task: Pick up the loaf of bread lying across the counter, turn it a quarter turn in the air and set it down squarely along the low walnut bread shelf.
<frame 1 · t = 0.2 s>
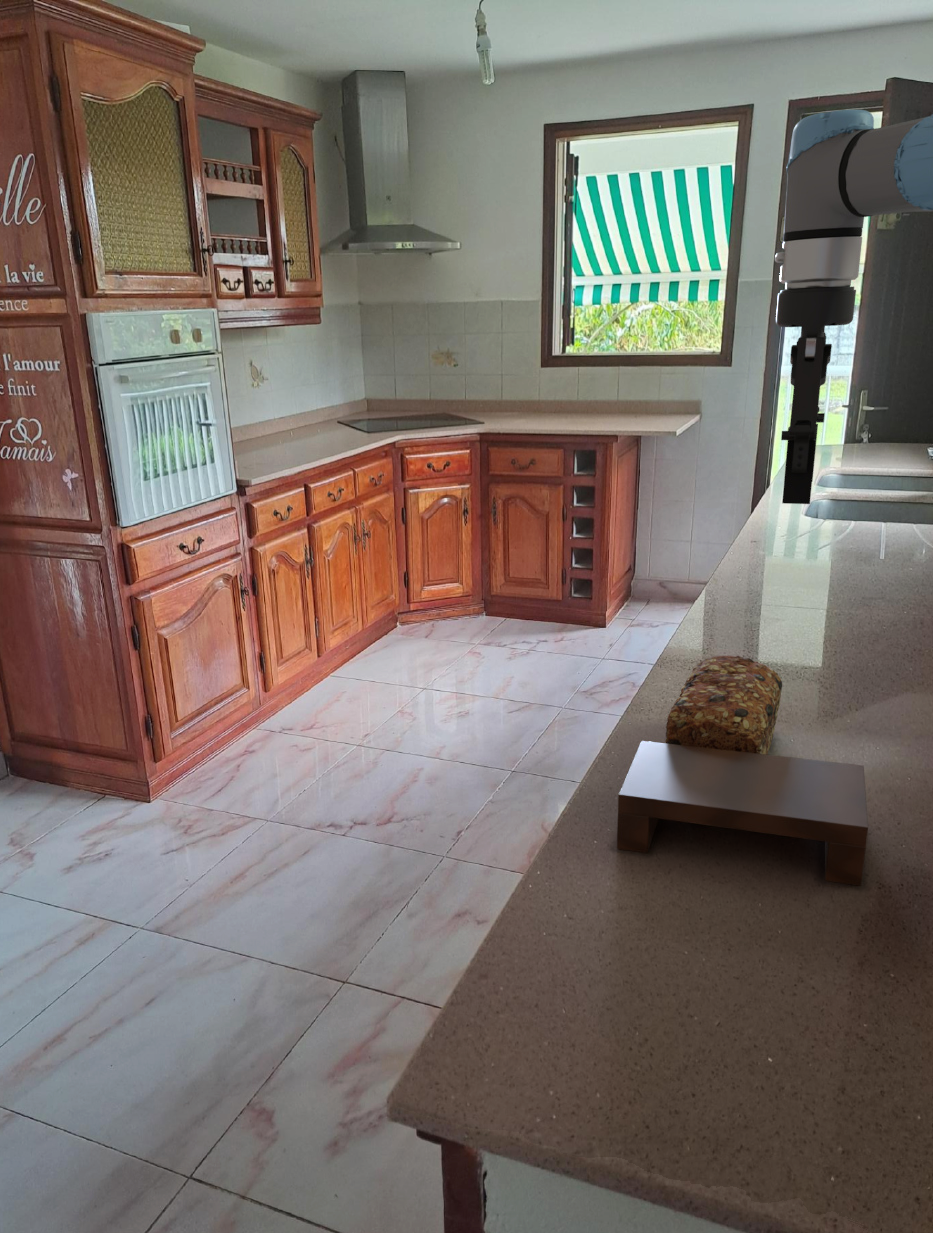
hand: (798, 492, 107), 30 cm above the counter, tool pointing down, fingers open, 13 cm apart
bread: (724, 757, 113), on the counter
bread shelf: (739, 833, 96), on the counter
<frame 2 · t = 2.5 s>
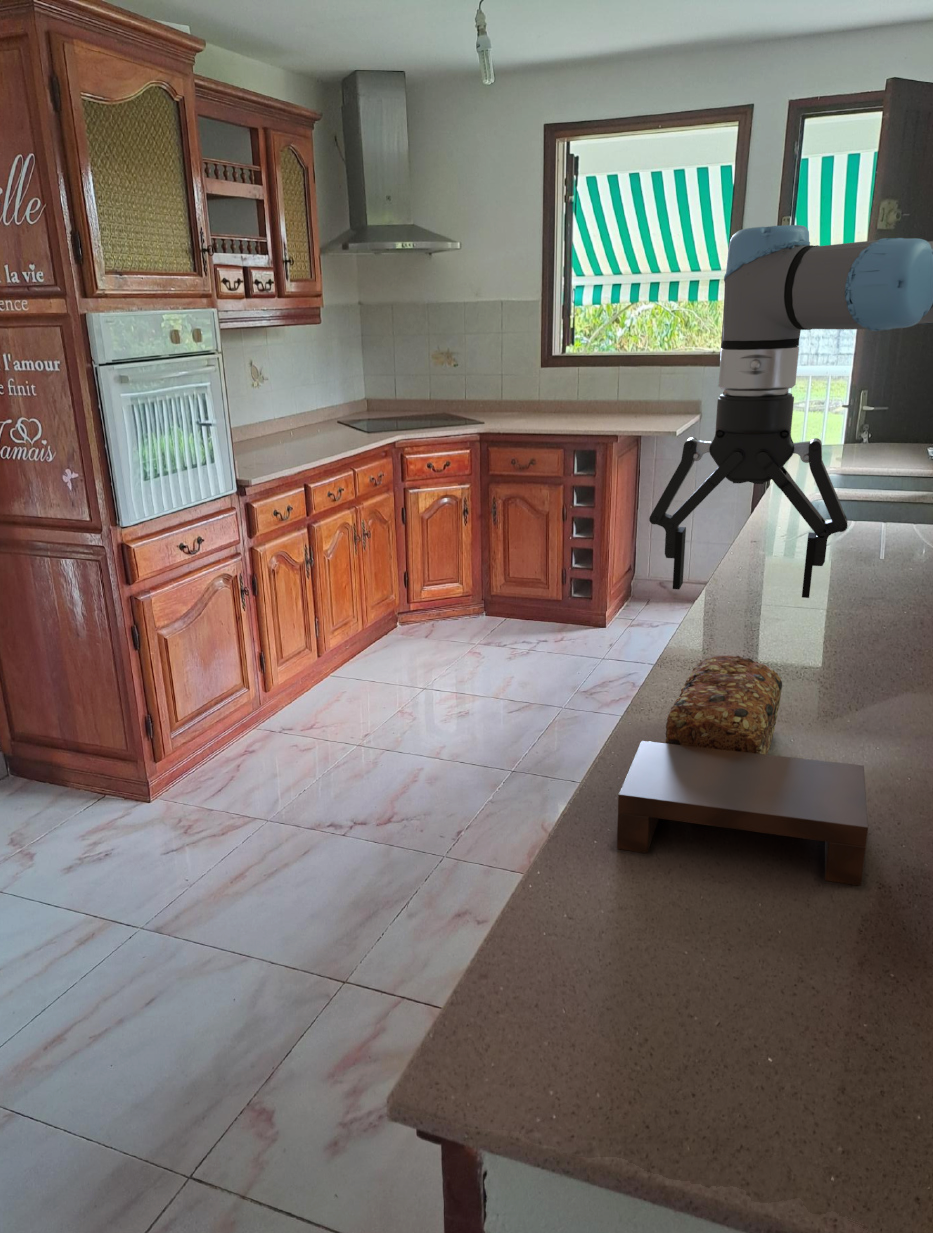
hand: (740, 590, 107), 20 cm above the counter, tool pointing down, fingers open, 13 cm apart
nothing on the counter moved.
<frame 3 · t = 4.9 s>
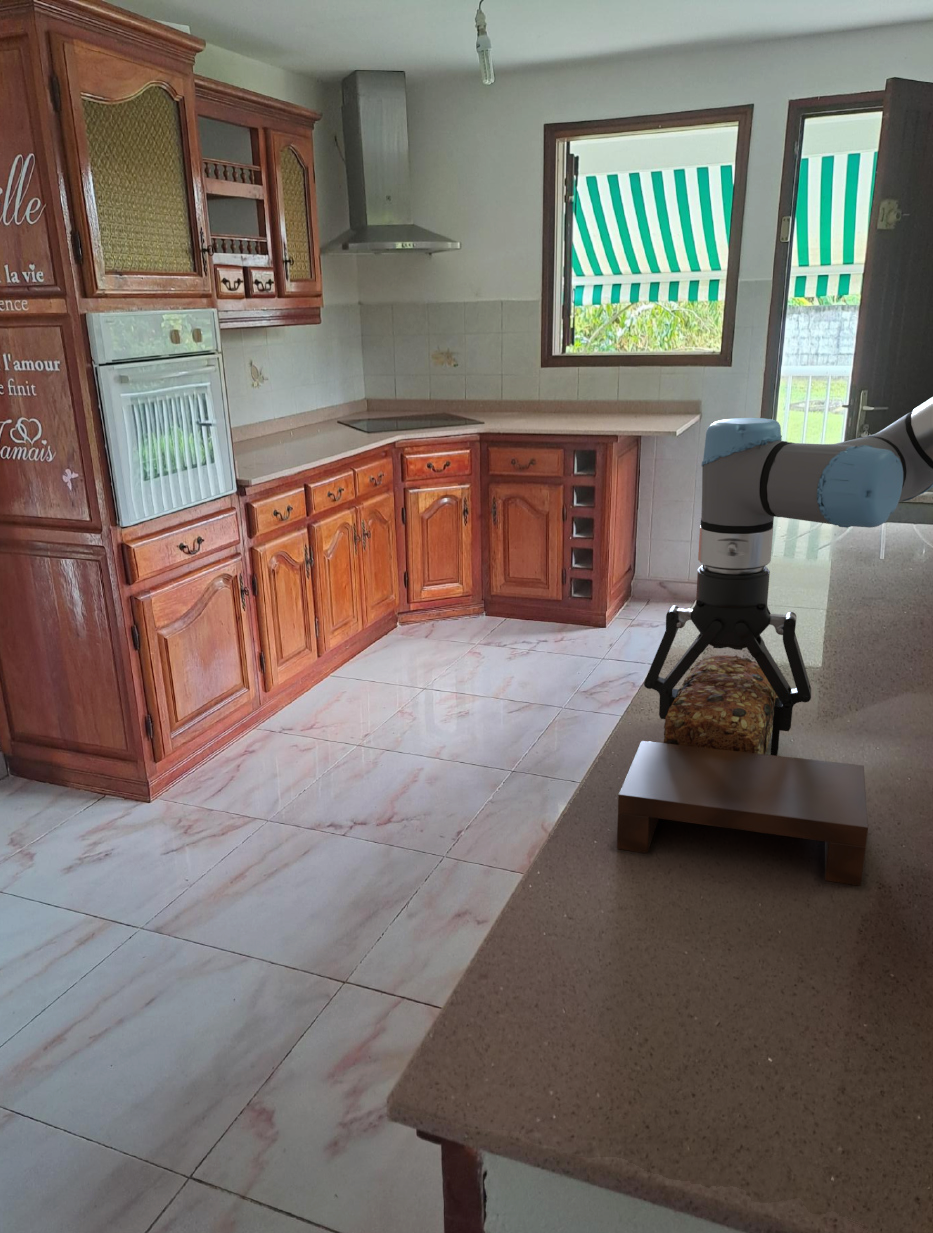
hand: (722, 749, 112), 1 cm above the counter, tool pointing down, fingers closed on bread, 11 cm apart
bread: (721, 757, 113), on the counter, touching gripper
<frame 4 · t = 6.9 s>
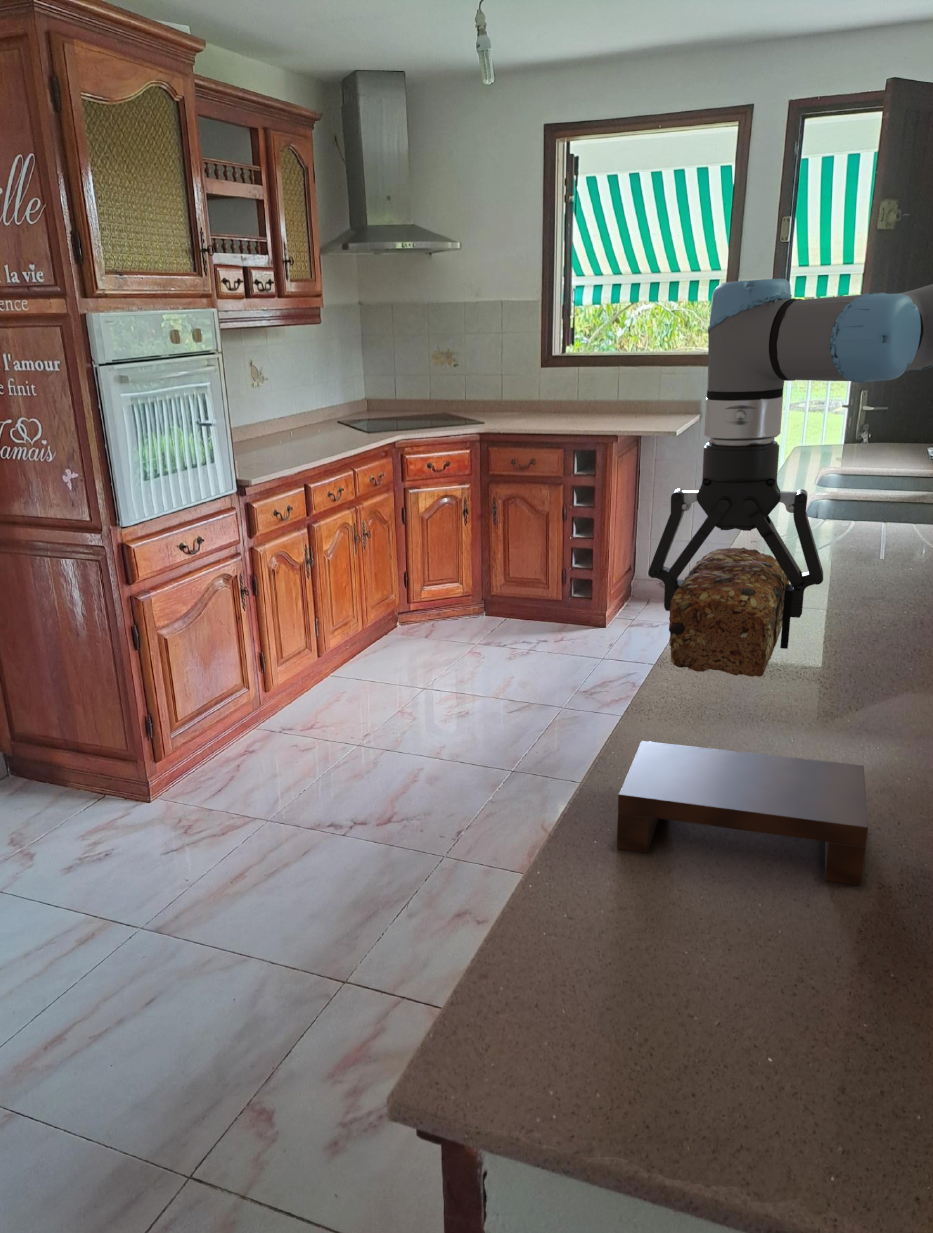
hand: (729, 641, 107), 14 cm above the counter, tool pointing down, fingers closed on bread, 11 cm apart
bread: (729, 650, 108), point 13 cm above the counter, touching gripper
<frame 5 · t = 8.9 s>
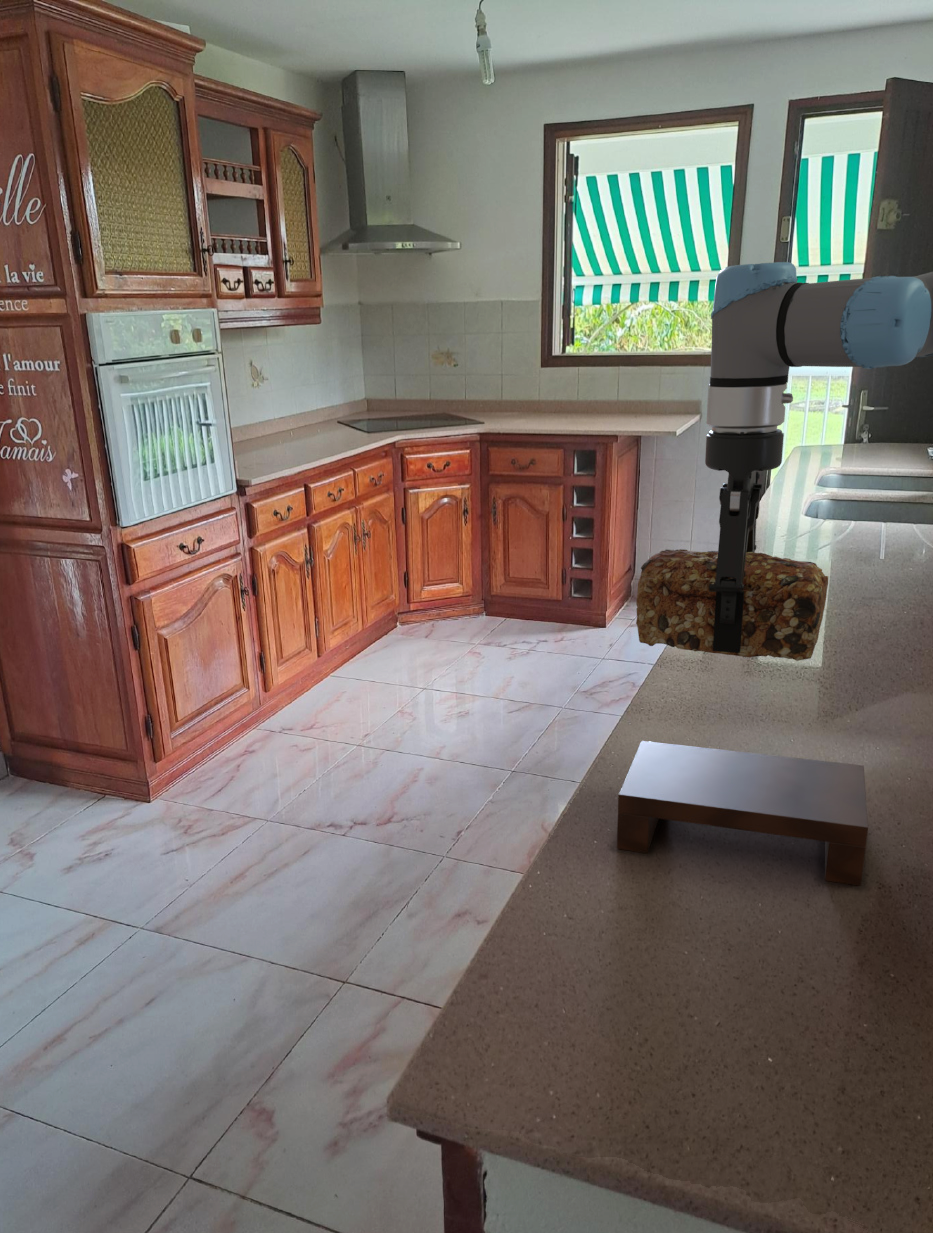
hand: (732, 634, 105), 16 cm above the counter, tool pointing down, fingers closed on bread, 11 cm apart
bread: (729, 644, 106), point 15 cm above the counter, touching gripper
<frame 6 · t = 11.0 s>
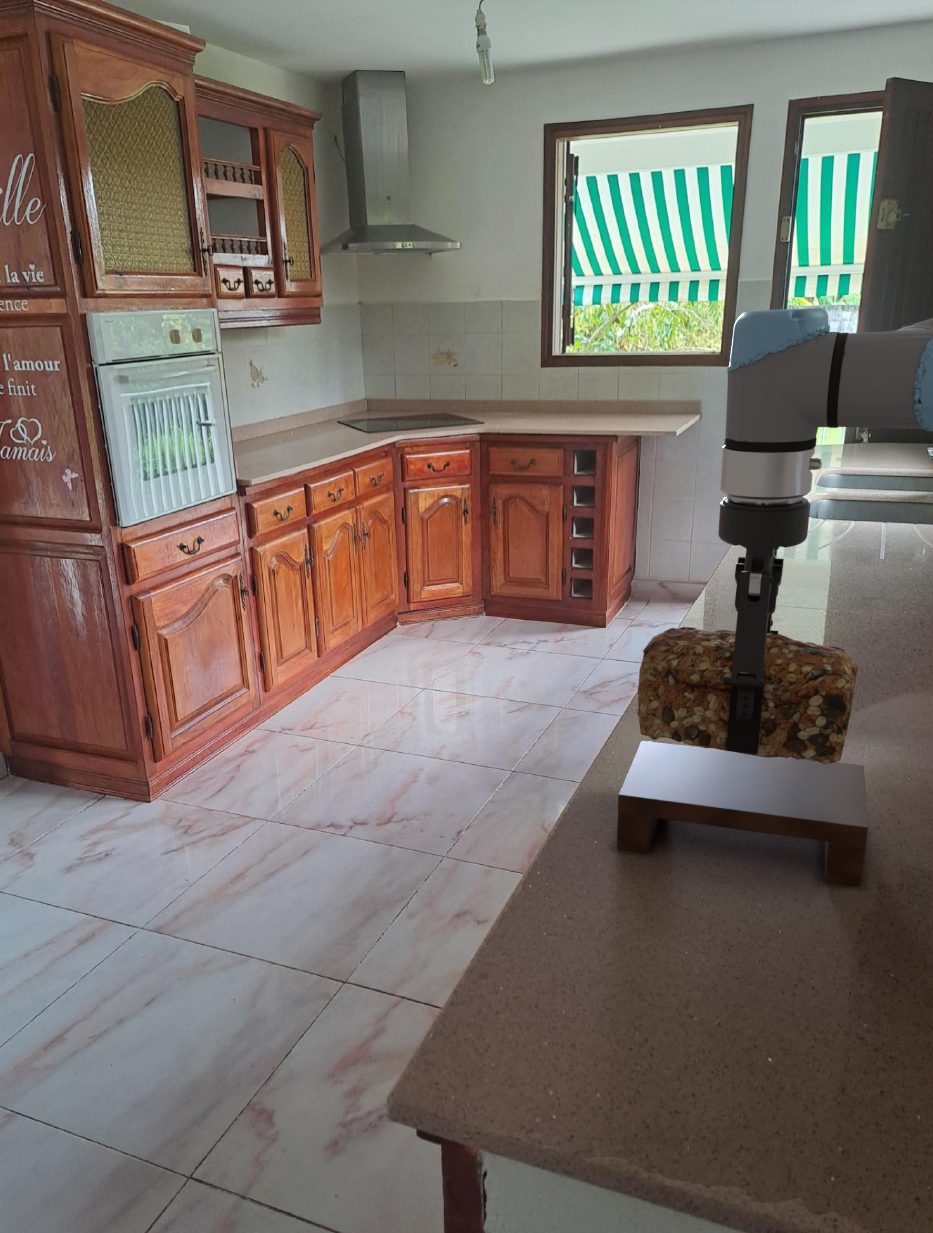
hand: (746, 726, 92), 12 cm above the counter, tool pointing down, fingers closed on bread, 11 cm apart
bread: (742, 736, 93), point 11 cm above the counter, touching gripper
when the fingers open (7 cm above the counter, at t = 12.8 s): bread stays where it is, resting on bread shelf.
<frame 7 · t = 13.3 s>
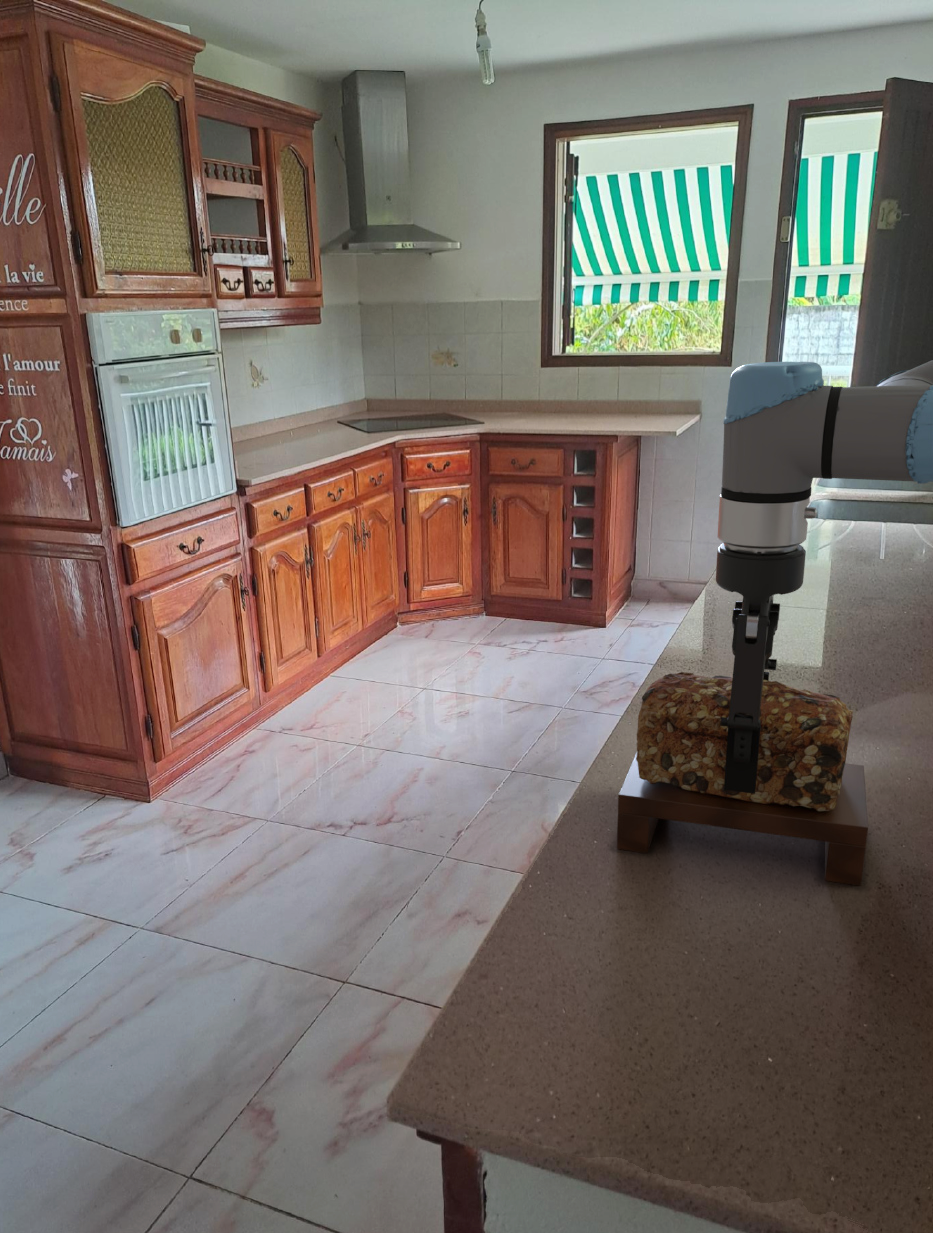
hand: (745, 759, 93), 8 cm above the counter, tool pointing down, fingers open, 13 cm apart
bread: (740, 780, 94), point 6 cm above the counter, touching bread shelf
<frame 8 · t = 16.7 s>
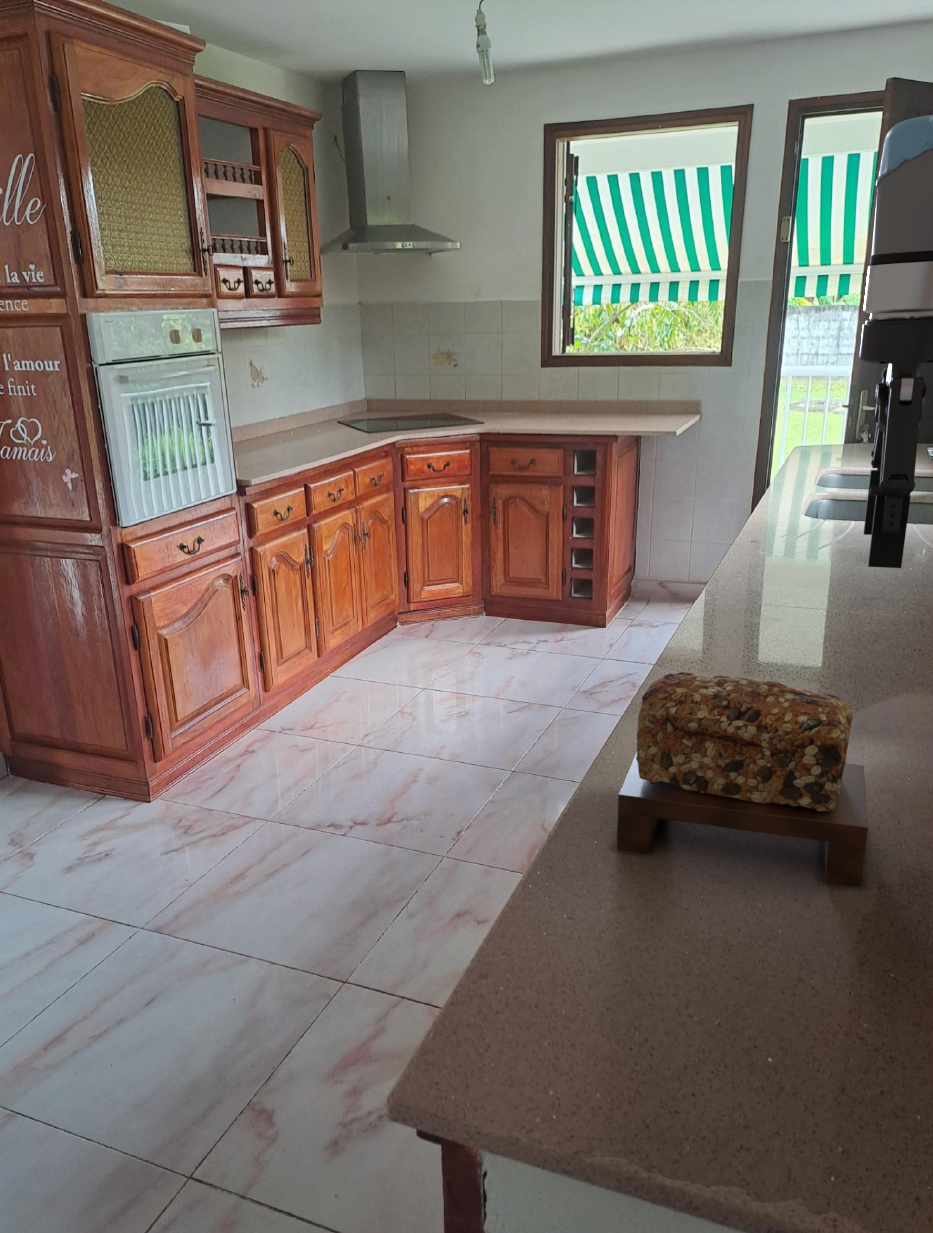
hand: (880, 549, 93), 27 cm above the counter, tool pointing down, fingers open, 13 cm apart
nothing on the counter moved.
at the end: bread 0.3 cm off-centre on the bread shelf, point 5.8 cm above the bread shelf's base; bread tilted 0°; the gripper is holding nothing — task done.
